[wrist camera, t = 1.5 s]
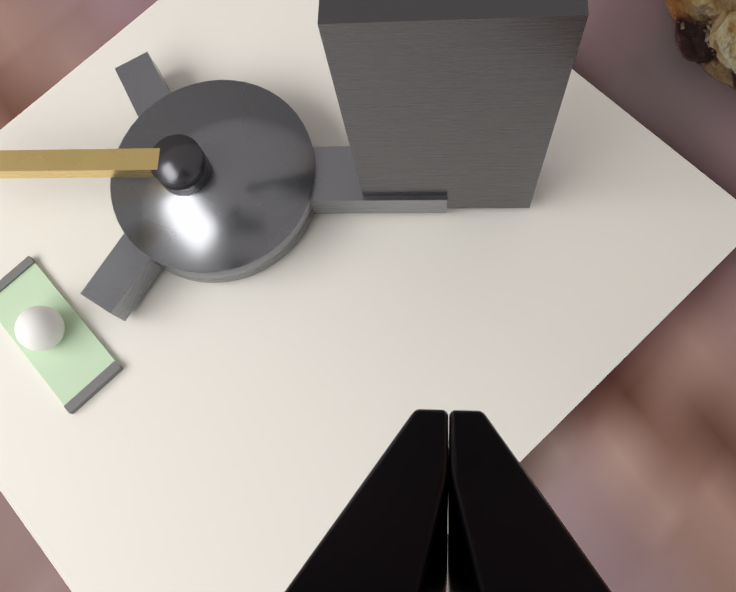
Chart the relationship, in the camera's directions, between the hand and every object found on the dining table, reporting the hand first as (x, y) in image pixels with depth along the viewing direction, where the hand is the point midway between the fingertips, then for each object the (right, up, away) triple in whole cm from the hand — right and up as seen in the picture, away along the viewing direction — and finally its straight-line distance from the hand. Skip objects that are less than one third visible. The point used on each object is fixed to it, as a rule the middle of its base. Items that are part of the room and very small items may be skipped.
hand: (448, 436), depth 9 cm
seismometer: (-6, +5, +14) cm, 16 cm away
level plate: (-4, +3, +14) cm, 15 cm away
